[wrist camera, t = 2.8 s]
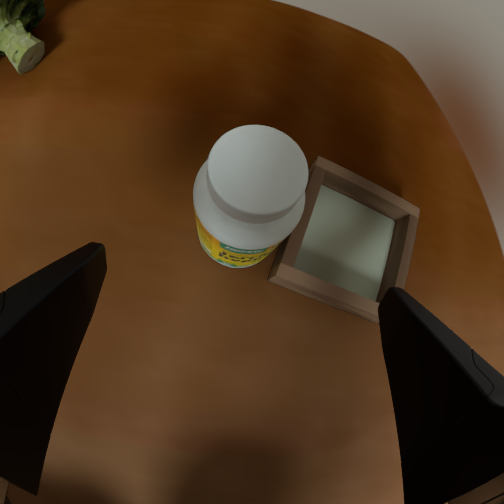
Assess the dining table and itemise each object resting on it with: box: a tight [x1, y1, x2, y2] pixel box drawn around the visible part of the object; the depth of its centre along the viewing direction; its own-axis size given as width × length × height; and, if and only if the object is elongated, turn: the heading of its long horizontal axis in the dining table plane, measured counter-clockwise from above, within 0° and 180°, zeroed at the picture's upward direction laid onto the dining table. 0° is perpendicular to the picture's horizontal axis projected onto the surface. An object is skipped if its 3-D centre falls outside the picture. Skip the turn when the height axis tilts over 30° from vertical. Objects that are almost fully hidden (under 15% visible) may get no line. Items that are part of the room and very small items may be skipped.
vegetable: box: [0, 0, 46, 74], centre depth 17 cm, size 12×13×15 cm
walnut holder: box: [267, 156, 420, 322], centre depth 20 cm, size 9×9×3 cm
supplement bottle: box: [193, 125, 308, 268], centre depth 16 cm, size 5×5×10 cm
